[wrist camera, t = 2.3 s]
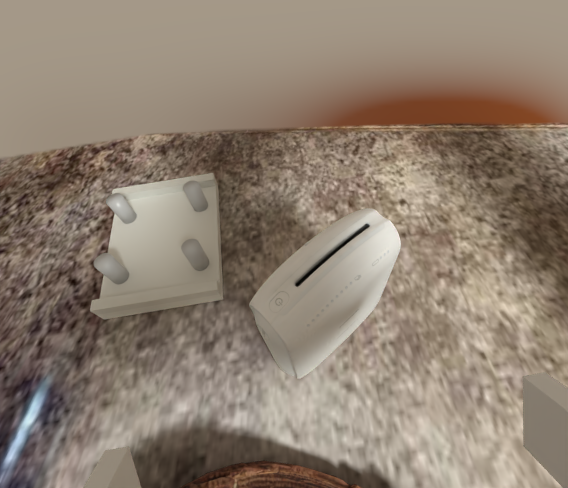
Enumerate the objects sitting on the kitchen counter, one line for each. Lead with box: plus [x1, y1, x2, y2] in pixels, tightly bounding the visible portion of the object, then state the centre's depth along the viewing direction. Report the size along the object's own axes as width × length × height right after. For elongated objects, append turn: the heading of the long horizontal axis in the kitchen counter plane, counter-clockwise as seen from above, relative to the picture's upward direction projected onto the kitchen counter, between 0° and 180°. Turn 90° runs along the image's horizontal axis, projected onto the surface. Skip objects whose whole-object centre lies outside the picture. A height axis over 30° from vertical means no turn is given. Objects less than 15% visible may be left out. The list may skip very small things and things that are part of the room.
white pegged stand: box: [90, 173, 223, 320], centre depth 32 cm, size 14×11×4 cm
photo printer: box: [249, 208, 401, 379], centre depth 22 cm, size 10×4×12 cm, turn 131°
